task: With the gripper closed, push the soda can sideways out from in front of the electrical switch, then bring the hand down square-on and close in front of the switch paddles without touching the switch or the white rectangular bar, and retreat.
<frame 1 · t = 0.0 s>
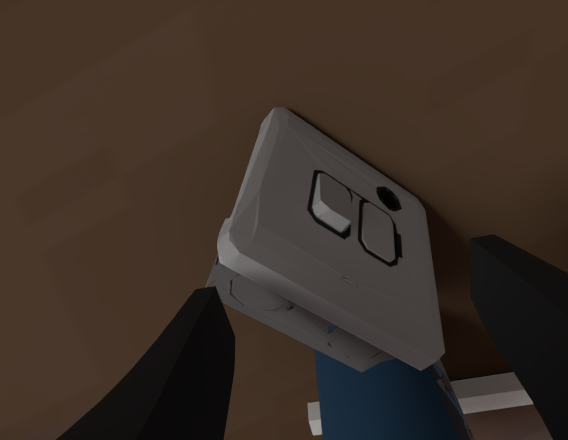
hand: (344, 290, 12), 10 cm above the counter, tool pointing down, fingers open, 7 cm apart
electrical switch: (324, 194, 22), on the counter
soda can: (367, 330, 26), on the counter
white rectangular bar: (451, 389, 29), on the counter
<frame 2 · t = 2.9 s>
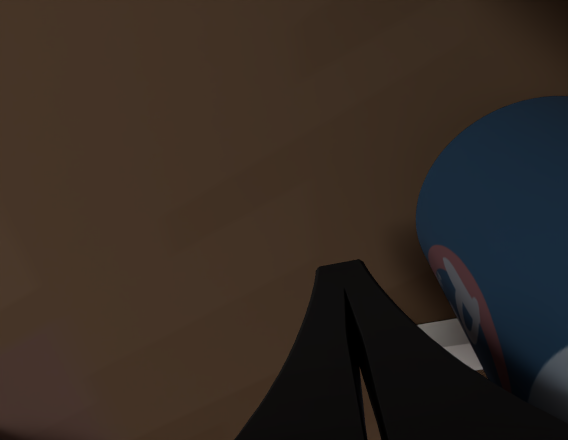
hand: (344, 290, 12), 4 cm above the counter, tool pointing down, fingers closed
soda can: (504, 188, 15), on the counter, touching gripper
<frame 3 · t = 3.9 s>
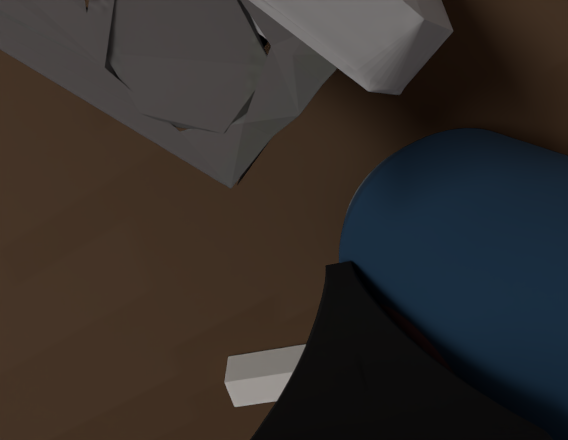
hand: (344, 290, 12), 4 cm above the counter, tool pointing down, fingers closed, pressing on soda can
soda can: (414, 218, 14), point 1 cm above the counter, touching gripper
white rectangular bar: (456, 334, 18), on the counter
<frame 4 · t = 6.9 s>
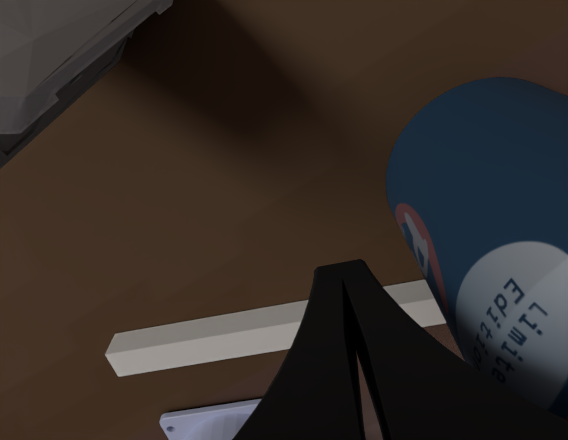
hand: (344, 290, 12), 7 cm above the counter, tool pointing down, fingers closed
soda can: (462, 158, 17), on the counter
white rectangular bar: (307, 312, 21), on the counter
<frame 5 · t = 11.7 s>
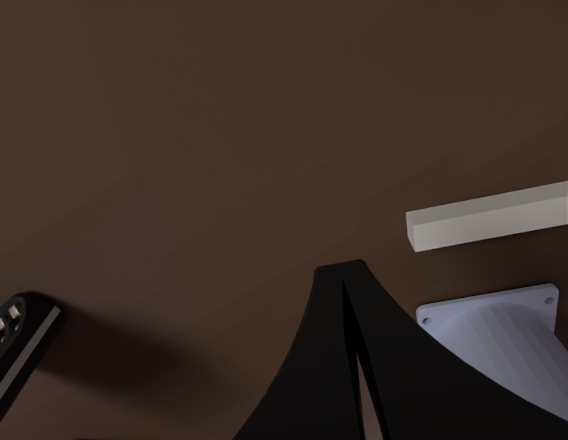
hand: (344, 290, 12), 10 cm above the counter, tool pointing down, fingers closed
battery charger: (15, 319, 26), on the counter
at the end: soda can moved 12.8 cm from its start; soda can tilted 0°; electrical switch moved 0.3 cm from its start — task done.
